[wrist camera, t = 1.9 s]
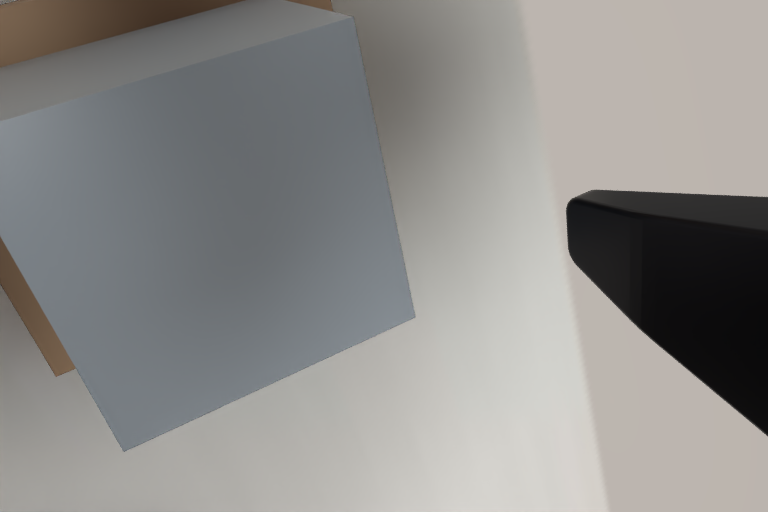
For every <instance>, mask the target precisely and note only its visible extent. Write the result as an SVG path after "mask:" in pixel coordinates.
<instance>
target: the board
mask: <svg viewBox="0 0 768 512" xmlns="http://www.w3.org/2000/svg"><path fill="white" fill-rule="evenodd" d="M241 1H245V0H18V1H14V2H10V3H6V4H2V5H0V68H1V67H4V66H8V65H11V64H15V63H19V62H22V61H26V60H30V59H33V58H37V57H41V56H44V55H48V54H52V53H55V52H59V51H63V50H66V49H70V48H73V47H77V46H81V45H84V44H88V43H92V42H95V41H99V40H103V39H106V38H110V37H114V36H117V35H121V34H125V33H128V32H132V31H136V30H139V29H143V28H146V27H150V26H154V25H157V24H161V23H165V22H168V21H172V20H176V19H179V18H183V17H187V16H190V15H194V14H198V13H201V12H205V11H208V10H212V9H216V8H219V7H223V6H227V5H230V4H234V3H238V2H241ZM286 1H290V2H294V3H299V4H303V5H307V6H311V7H315V8H320V9H324V10H328V11H332V12H333V9H332V5H331V0H286ZM0 284H1V286H2V287H3V289H4V291H5V292H6V294H7V296H8V297H9V299H10V301H11V302H12V304H13V306H14V307H15V309H16V311H17V312H18V314H19V316H20V317H21V319H22V321H23V322H24V324H25V326H26V327H27V329H28V331H29V332H30V334H31V336H32V337H33V339H34V341H35V342H36V344H37V346H38V347H39V349H40V351H41V352H42V354H43V356H44V358H45V359H46V361H47V363H48V364H49V366H50V368H51V369H52V371H53V373H54V374H55V376H56V377H57V376H59V375H62V374H64V373H66V372H69V371H71V370H74V369H76V368H75V366H74V364H73V362H72V361H71V359H70V357H69V355H68V354H67V352H66V350H65V348H64V347H63V345H62V343H61V341H60V340H59V338H58V336H57V334H56V333H55V331H54V329H53V327H52V326H51V324H50V322H49V320H48V319H47V317H46V315H45V313H44V312H43V310H42V308H41V306H40V305H39V303H38V301H37V299H36V298H35V296H34V294H33V292H32V291H31V289H30V287H29V285H28V284H27V282H26V280H25V278H24V277H23V275H22V273H21V271H20V270H19V268H18V266H17V265H16V263H15V261H14V259H13V258H12V256H11V254H10V252H9V251H8V249H7V247H6V245H5V244H4V242H3V240H2V238H1V237H0Z"/></svg>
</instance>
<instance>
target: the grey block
mask: <svg viewBox="0 0 768 512" xmlns="http://www.w3.org/2000/svg"><path fill="white" fill-rule="evenodd" d="M0 237H1V238H2V240H3V242H4V244H5V245H6V247H7V249H8V251H9V252H10V254H11V256H12V258H13V259H14V261H15V263H16V265H17V266H18V268H19V270H20V271H21V273H22V275H23V277H24V278H25V280H26V282H27V284H28V285H29V287H30V289H31V291H32V292H33V294H34V296H35V298H36V299H37V301H38V303H39V305H40V306H41V308H42V310H43V312H44V313H45V315H46V317H47V319H48V320H49V322H50V324H51V326H52V327H53V329H54V331H55V333H56V334H57V336H58V338H59V340H60V341H61V343H62V345H63V347H64V348H65V350H66V352H67V354H68V355H69V357H70V359H71V361H72V362H73V364H74V366H75V368H76V369H77V371H78V373H79V375H80V376H81V378H82V380H83V382H84V383H85V385H86V387H87V389H88V390H89V392H90V394H91V395H92V397H93V399H94V401H95V402H96V404H97V406H98V408H99V409H100V411H101V413H102V415H103V416H104V418H105V420H106V422H107V423H108V425H109V427H110V429H111V430H112V432H113V434H114V436H115V437H116V439H117V441H118V443H119V444H120V446H121V448H122V450H123V451H124V452H125V451H127V450H129V449H131V448H133V447H135V446H138V445H140V444H142V443H144V442H146V441H148V440H151V439H153V438H155V437H157V436H159V435H161V434H164V433H166V432H168V431H170V430H172V429H174V428H177V427H179V426H181V425H183V424H185V423H187V422H190V421H192V420H194V419H196V418H198V417H200V416H203V415H205V414H207V413H209V412H211V411H213V410H216V409H218V408H220V407H222V406H224V405H226V404H229V403H231V402H233V401H235V400H237V399H239V398H242V397H244V396H246V395H248V394H250V393H252V392H255V391H257V390H259V389H261V388H263V387H265V386H268V385H270V384H272V383H274V382H276V381H278V380H281V379H283V378H285V377H287V376H289V375H291V374H294V373H296V372H298V371H300V370H302V369H304V368H307V367H309V366H311V365H313V364H315V363H317V362H320V361H322V360H324V359H326V358H328V357H330V356H333V355H335V354H337V353H339V352H341V351H343V350H346V349H348V348H350V347H352V346H354V345H356V344H359V343H361V342H363V341H365V340H367V339H369V338H372V337H374V336H376V335H378V334H380V333H382V332H385V331H387V330H389V329H391V328H393V327H395V326H398V325H400V324H402V323H404V322H406V321H408V320H411V319H413V318H415V312H414V307H413V303H412V298H411V293H410V288H409V283H408V278H407V273H406V269H405V264H404V259H403V254H402V249H401V244H400V240H399V235H398V230H397V225H396V220H395V215H394V210H393V206H392V201H391V196H390V191H389V186H388V181H387V177H386V172H385V167H384V162H383V157H382V152H381V148H380V143H379V138H378V133H377V128H376V123H375V118H374V114H373V109H372V104H371V99H370V94H369V89H368V85H367V80H366V75H365V70H364V65H363V60H362V55H361V51H360V46H359V41H358V36H357V31H356V26H355V22H354V17H353V16H349V15H345V14H341V13H336V12H332V11H328V10H324V9H320V8H315V7H311V6H307V5H303V4H299V3H294V2H290V1H286V0H245V1H241V2H238V3H234V4H230V5H227V6H223V7H219V8H216V9H212V10H208V11H205V12H201V13H198V14H194V15H190V16H187V17H183V18H179V19H176V20H172V21H168V22H165V23H161V24H157V25H154V26H150V27H146V28H143V29H139V30H136V31H132V32H128V33H125V34H121V35H117V36H114V37H110V38H106V39H103V40H99V41H95V42H92V43H88V44H84V45H81V46H77V47H73V48H70V49H66V50H63V51H59V52H55V53H52V54H48V55H44V56H41V57H37V58H33V59H30V60H26V61H22V62H19V63H15V64H11V65H8V66H4V67H1V68H0Z"/></svg>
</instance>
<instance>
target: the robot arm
mask: <svg viewBox="0 0 768 512" xmlns="http://www.w3.org/2000/svg"><path fill="white" fill-rule="evenodd" d="M566 216H567V234H568V235H567V236H568V250H569V253H570V256H571V258H572V260H573V261H574V263H575V264H576V265H577V266H578V267H579V268H580V269H581V270H582V271H583V272H584V273H585V274H586V275H587V276H588V277H589V278H590V279H591V281H592V282H594V284H595V285H596V286H597V287H598V288H599V289H600V290H601V291H602V292H603V293H604V294H605V295H606V296H607V297H608V298H609V299H610V300H611V301H612V302H613V303H614V304H615V305H616V306H617V307H618V308H619V309H620V310H621V311H622V312H623V313H624V314H625V315H626V316H627V317H628V318H629V319H630V320H631V321H632V322H633V323H634V324H635V325H636V326H637V327H638V328H639V329H640V330H641V331H642V332H643V333H645V334H646V335H647V336H648V337H649V338H650V339H652V340H653V341H654V342H655V343H656V344H657V345H659V346H660V347H661V348H663V350H665V351H666V352H667V353H668V354H669V355H671V356H672V357H673V358H674V359H675V360H677V361H678V362H679V363H681V364H682V365H683V366H684V367H685V368H686V369H688V370H689V371H690V372H691V373H692V374H693V375H695V376H696V377H697V378H698V379H699V380H701V381H702V382H703V383H704V384H706V385H707V386H708V387H709V388H710V389H711V390H713V391H714V392H715V393H716V394H717V395H719V396H720V397H721V398H722V399H724V400H725V401H726V402H727V403H728V404H730V405H731V406H732V407H733V408H734V409H736V410H737V411H738V412H739V413H740V414H742V415H743V416H744V417H745V418H746V419H748V420H749V421H750V422H751V423H752V424H754V425H755V426H756V427H757V428H758V429H760V430H761V431H762V432H763V433H764V434H766V435H767V436H768V197H752V196H729V195H728V196H727V195H706V194H681V193H657V192H635V191H611V190H591V191H588V192H586V193H584V194H581V195H579V196H577V197H575V198H572V199H571V200H570V201H569V202H568V204H567V208H566Z"/></svg>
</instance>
